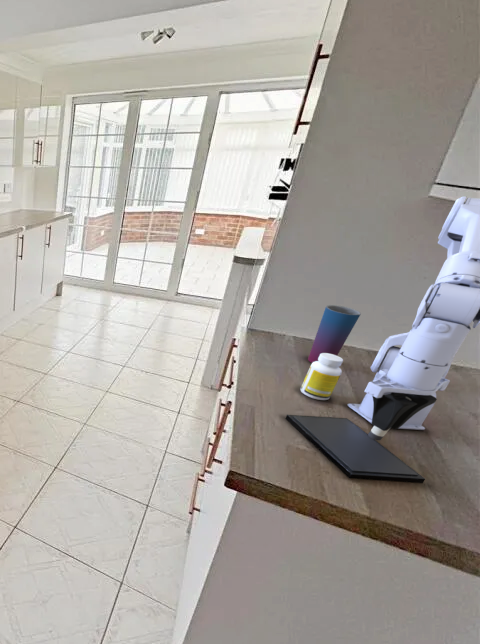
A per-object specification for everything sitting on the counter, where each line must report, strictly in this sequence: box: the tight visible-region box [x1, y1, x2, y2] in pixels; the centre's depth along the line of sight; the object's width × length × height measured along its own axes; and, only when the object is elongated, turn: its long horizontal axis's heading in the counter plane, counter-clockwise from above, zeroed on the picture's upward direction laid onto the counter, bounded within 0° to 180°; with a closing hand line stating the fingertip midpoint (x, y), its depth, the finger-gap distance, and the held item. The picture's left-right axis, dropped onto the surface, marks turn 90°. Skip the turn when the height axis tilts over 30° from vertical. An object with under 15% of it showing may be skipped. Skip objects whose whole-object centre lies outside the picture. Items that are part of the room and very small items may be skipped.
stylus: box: [367, 397, 411, 442], centre depth 70 cm, size 2×2×9 cm
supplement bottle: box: [300, 353, 344, 401], centre depth 92 cm, size 5×5×10 cm
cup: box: [307, 304, 362, 364], centre depth 106 cm, size 7×7×15 cm
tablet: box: [285, 414, 426, 484], centre depth 77 cm, size 12×17×1 cm
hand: (384, 426), depth 71 cm, fingers closed on stylus, 2 cm apart
